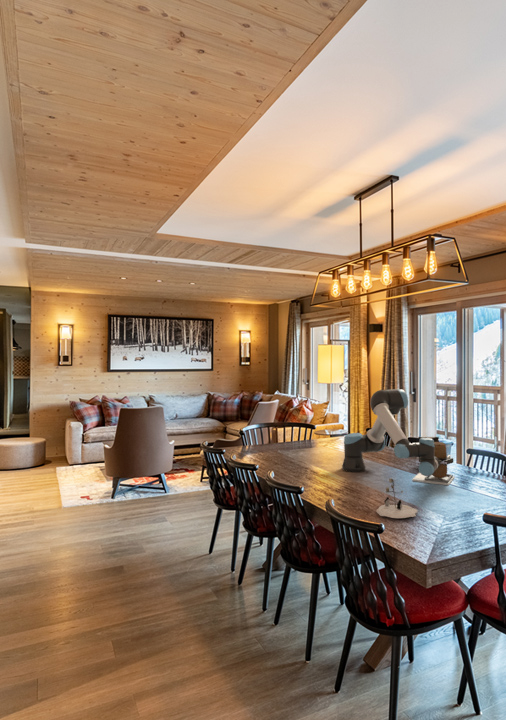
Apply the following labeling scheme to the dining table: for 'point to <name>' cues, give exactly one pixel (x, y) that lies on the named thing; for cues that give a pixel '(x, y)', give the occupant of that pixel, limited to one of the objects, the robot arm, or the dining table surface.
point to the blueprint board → (434, 479)
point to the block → (440, 453)
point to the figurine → (395, 507)
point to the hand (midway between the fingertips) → (439, 456)
